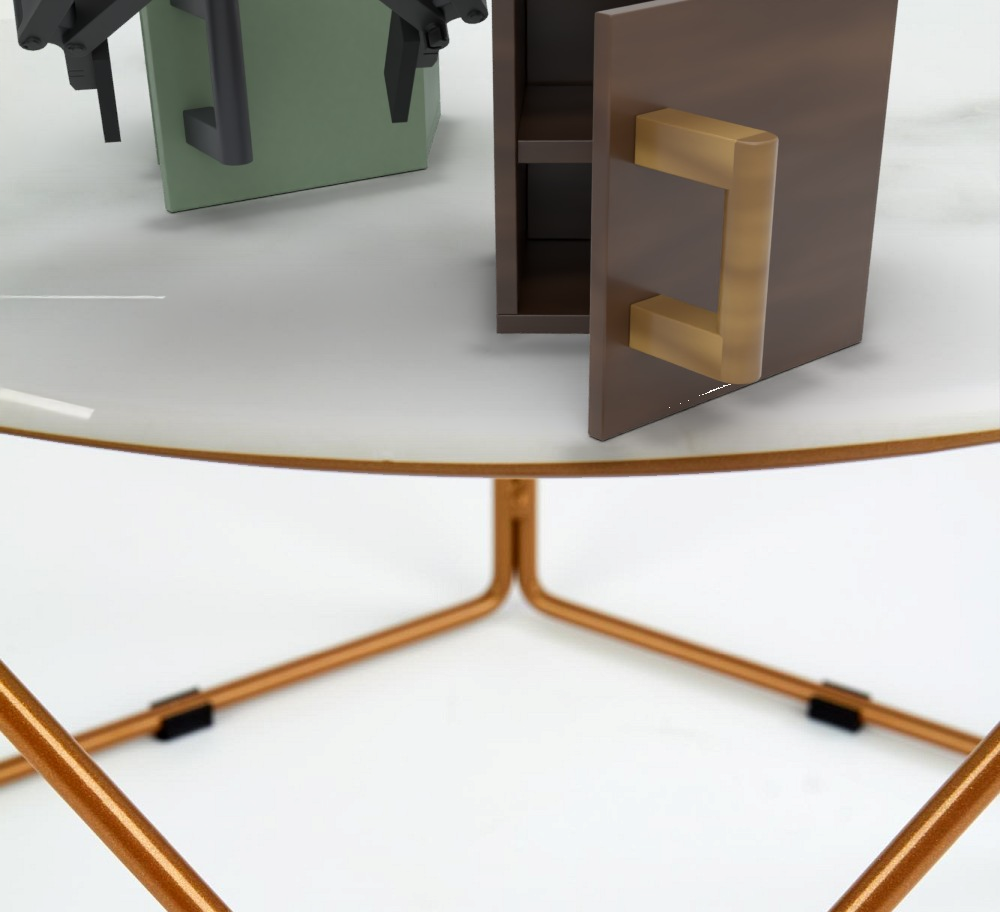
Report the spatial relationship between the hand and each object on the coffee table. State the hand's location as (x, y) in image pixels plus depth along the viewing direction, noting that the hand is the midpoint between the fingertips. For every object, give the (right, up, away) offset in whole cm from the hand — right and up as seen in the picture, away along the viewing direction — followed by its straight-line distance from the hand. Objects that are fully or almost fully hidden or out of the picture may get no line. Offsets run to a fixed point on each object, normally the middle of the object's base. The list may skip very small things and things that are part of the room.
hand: (254, 107), depth 82 cm
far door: (+3, -2, +6) cm, 7 cm away
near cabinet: (+19, -10, -6) cm, 23 cm away
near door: (+22, -18, -17) cm, 33 cm away
